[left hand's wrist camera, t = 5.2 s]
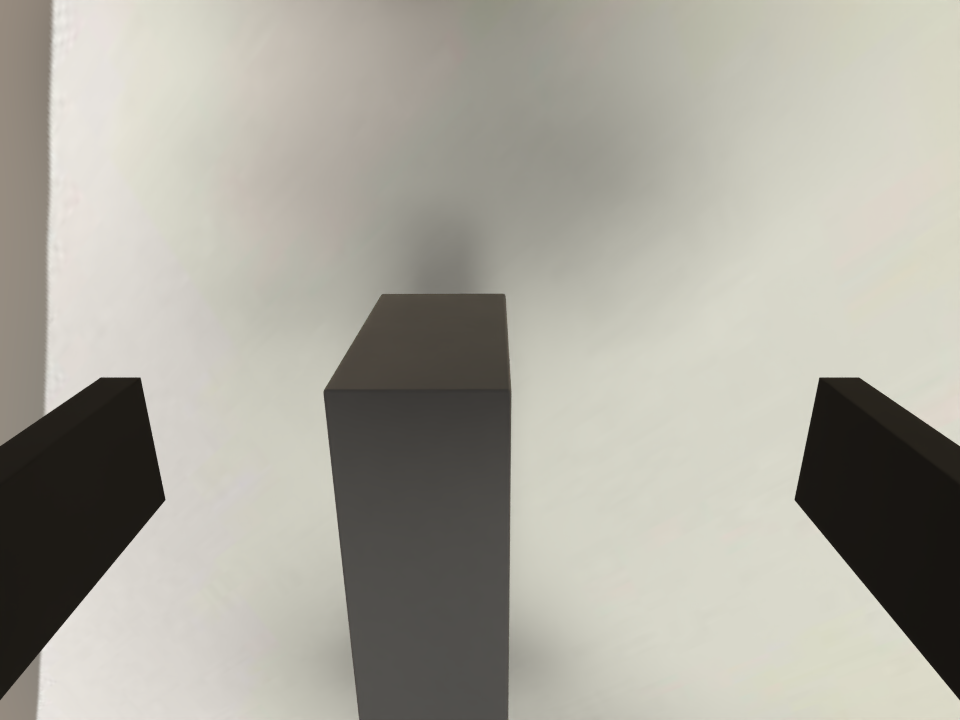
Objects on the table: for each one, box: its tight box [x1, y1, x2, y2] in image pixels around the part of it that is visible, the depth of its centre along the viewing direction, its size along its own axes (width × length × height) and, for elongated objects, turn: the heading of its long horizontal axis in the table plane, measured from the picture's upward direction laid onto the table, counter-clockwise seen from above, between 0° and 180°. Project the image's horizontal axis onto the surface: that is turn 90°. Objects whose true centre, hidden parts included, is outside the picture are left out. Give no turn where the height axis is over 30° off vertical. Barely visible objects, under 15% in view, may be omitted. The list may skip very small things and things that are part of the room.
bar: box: [324, 294, 511, 720], centre depth 25 cm, size 28×5×9 cm, turn 1°
